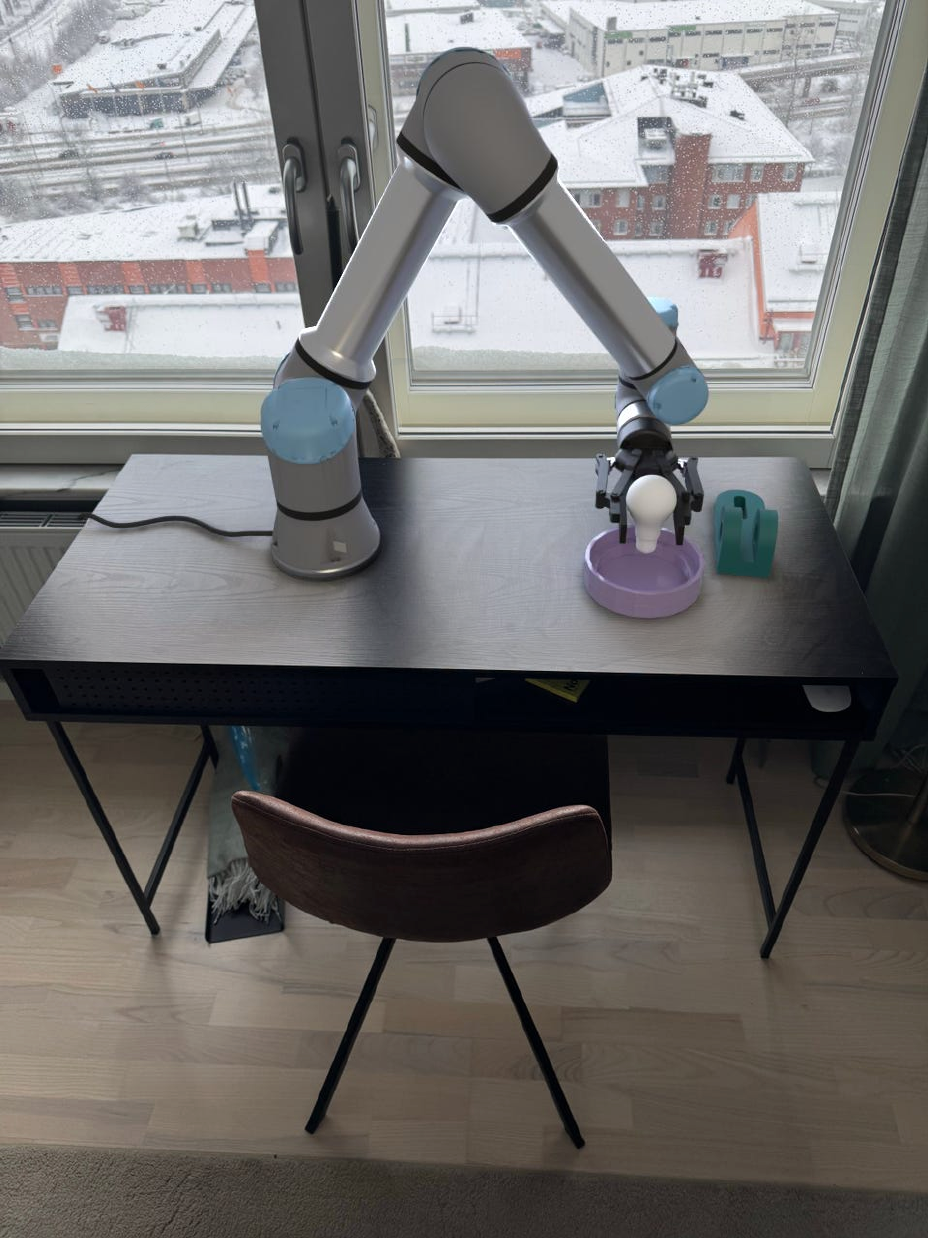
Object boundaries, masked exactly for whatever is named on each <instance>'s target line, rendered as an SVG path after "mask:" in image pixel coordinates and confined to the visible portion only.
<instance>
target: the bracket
mask: <svg viewBox="0 0 928 1238" xmlns="http://www.w3.org/2000/svg"><path fill="white" fill-rule="evenodd" d="M715 498H716V499H715V504H714V510H713V525H714V526H713V527H714V546H715V565H716V574H719V575H728V576H729V575H730V576H731V575H732V576H742V577H754V578H766V579H769V578H770V573H771V569H772V564H773V562H774V561H773V560H774V556H775V552H776V547H777V541H778V532H779V514H778V510H777V509H766V505H765V502H764V500H763V498H762V497H761V496H759V495H758V494H757V493H754V492H752V491H748V490H744V489H727V490H725V491H721V492H720V493H719V494H718V495H717V496H716V497H715Z"/></svg>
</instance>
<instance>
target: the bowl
mask: <svg viewBox="0 0 928 1238" xmlns="http://www.w3.org/2000/svg"><path fill="white" fill-rule="evenodd" d="M636 537H637V536H636V534H635V524H629V525H628V524H627V534H626V544H622V543H619V526H616V527H613V528H610V529H607V530H604V531H602V532H600V533H599V534H598V535H597V536H595V537H594V538H592V539H591V540H590V542H589V544H588V545H587V547H586V549H585V558H584V574H583V585H584V587H585V589H586V591H587V593H588V595H589V596H590V597H591V598H592V599H593V600H594V601H595V602H596V603H597V604H599V606H602V607H604V608H605V609H607V610H609V611H611V612H612V613H615V614H618V615H623V616H626V617H631V618H642V619H655V618H656V619H657V618H664V617H670V616H673V615H676V614H678V613H681V612H683V611H685V610H687V609H688V608H689V607H690V606H692V605H693V604H694V603H695V602H696V601H697V599H698V597H699V595H700V593H701V591H702V585H703V580H704V573H705V567H706V565H705V556H704V554H703V553H702V551H701V549H700V547H699V546H698V545H697V544H696V543H695V542H694V541H692V540H691V539H690V538H689V537H687V536H686V535H684V539H683V546H682V545H676V539H675V530H674V529H673V530H672V529H671V528H665V527H662V529H661V532H660V536H659V538H658V539H657V545H656V549H655V550H654V551H653V552H651V553H643V552H640V551H639V550H638V549H637V547H636Z"/></svg>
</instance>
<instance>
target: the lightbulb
mask: <svg viewBox="0 0 928 1238" xmlns="http://www.w3.org/2000/svg"><path fill="white" fill-rule="evenodd" d="M676 501H677V498H676V492H675V489H674V487H673V486H672V484H671V483H670V482H669V481H668V480H667V479H665V478H663V477H661V476H657V475H647V476H643V477H641V478H639V479H637V480H636V481H635V482H634V483H633V484H632V485H631V486H630V488H629V490H628V493H627V497H626V507H627V511H628V513H629V515H630V516H631V518H632V520H633V522H634V525H635V534H636V536H637V537H636V547H637V549H638V550H639V551H640V552H643V553H651V552H653V551H654V550H655V549H656V545H657V539H658V538H659V536H660V532H661V529H662V528H663V526H664V524H665V523H666V521H667V520H668V519H669V518H670V517H671V515H673V511H674V509H675V506H676Z"/></svg>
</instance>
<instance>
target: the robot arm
mask: <svg viewBox="0 0 928 1238" xmlns="http://www.w3.org/2000/svg"><path fill="white" fill-rule="evenodd" d="M417 82H418V83H417V88H416V92H415V93H416V94H415V100H414V103H412V106H411V109H410V110H409V113H408V114H407V117H406V119H405V120H404V123H403V124H402V126H401V128H400V131H399V133H398V135H397V137H396V139H395V141H394V146H395V149H396V153H397V157H398V164H397V166H396V168H395V170H394V172H393V174H392V175H391V178H390V179H389V182H388V184H387V186H386V187H385V190H384V192H383V194H382V195H381V198H380V199H379V201H378V204H377V205H376V207H375V209H374V211H373V213H372V215H371V218H370V219H369V220H368V223H367V226H366V228H365V229H364V231H363V233H362V235H361V236H360V237H361V238H360V239H359V240H358V242H357V245H356V247H355V249H354V251H353V253H352V256H351V257H350V259H349V261H348V263H347V264H346V267H345V269H344V271H343V273H342V275H341V277H340V279H339V281H338V282H337V285H336V287H335V288H334V291H333V292H332V295H331V297H330V298H329V301H328V302H327V304H326V306H325V308H324V310H323V312H322V314H321V316H320V318H319V320H318V321H317V324H316V326H311V327H307V328H303V329H302V330H301V331H300V333H299V335H298V337H297V338H296V340H295V342H294V345H293V346H292V348H291V349H290V350H289V351H288V352H287V353H286V354H285V355H284V356H283V358H282V359H281V360H280V362H279V364H278V365H277V367H276V370H275V372H274V378H273V382H272V390H271V391H269V392H268V393H267V394H266V396H265V398H263V401H262V403H261V407H260V432H261V436H262V438H263V441H264V445H265V450H266V455H267V460H268V461H267V462H268V467H269V471H270V476H271V483H272V487H273V493H274V497H275V503H276V511H275V512H276V513H275V519H274V524H273V529H272V530H237V531H231V530H230V531H228V530H223V529H219V528H216V527H214V526H211V525H209V524H208V523H206V522H203V521H202V520H199V519H197V518H194V517H191V516H186V515H163V516H157V517H153V518H148V519H144V520H143V519H142V520H138V521H132V522H114V521H110V520H107V519H105V518H102V517H101V516H98V515H97V514H94V513H92V512H82V513H80V514H79V515H78V516H77V517H76V518H75V521H77V522H80V521H83V520H84V519H86V518H87V519H90V520H93V521H95V522H98V523H99V524H101V525H104V526H106V527H110V528H113V529H132V528H139V527H143V526H145V527H146V526H149V525H150V526H151V525H154V524H159V523H166V522H184V523H185V522H186V523H190V524H194V525H196V526H198V527H200V528H202V529H204V530H206V531H208V532H210V533H212V534H214V535H218V536H221V537H225V538H226V537H227V538H241V537H243V538H244V537H271V542H270V548H271V554H272V558H273V561H274V564H275V565H276V566H277V568H279V569H280V571H282V572H283V573H285V574H287V575H288V576H292V577H294V578H296V579H301V580H305V581H316V582H318V581H333V580H337V579H341V578H346V577H348V576H351V575H354V574H356V573H359V572H360V571H362V570H363V569H365V568H366V567H369V565H371V564H372V563H373V562H374V561H375V560H376V558H377V557H378V555H379V553H380V551H381V547H382V543H381V541H382V540H381V533H380V528H379V526H378V523H377V522H376V521H375V519H374V518H373V517H372V515H371V512H370V510H369V508H368V505H367V504H366V502H365V500H364V497H363V492H362V482H361V474H360V465H359V457H358V445H357V443H358V442H357V411H358V409H359V407H360V405H361V402H362V401H363V399H364V398H365V396H366V394H367V392H368V390H369V389H370V387H371V384H372V383H373V382H374V379H375V378H376V376H377V370H376V366H375V364H374V360H373V358H374V356H375V355H376V352H377V351H378V349H379V347H380V346H381V343H382V342H383V340H384V338H385V337H386V335H387V333H388V331H389V330H390V327H391V326H392V323H393V322H394V320H395V318H396V316H397V315H398V313H399V311H400V309H401V307H402V306H403V304H404V302H405V301H406V298H407V296H408V295H409V293H410V291H411V289H412V287H413V286H414V284H415V282H416V281H417V279H418V277H419V275H420V273H421V272H422V270H423V267H424V266H425V264H426V262H427V260H428V259H429V257H430V255H431V254H432V252H433V250H434V248H435V246H436V245H437V243H438V240H439V239H440V237H441V235H442V233H443V231H444V230H445V228H446V226H447V225H448V223H449V221H450V220H451V217H452V216H453V214H454V212H455V210H456V208H457V206H458V204H459V203H460V202H462V201H464V200H469V199H471V200H472V201H473V202H474V203H475V205H477V207H478V208H479V209H480V210H481V211H482V213H484V215H485V216H486V217H487V218H488V220H489V221H490V222H491V223H492V224H493V226H503V227H507V228H508V229H509V231H510V232H511V233H512V235H513V236H514V237H515V238H516V240H517V241H518V242H519V243H520V244H521V245H522V247H523V248H524V249H525V250H526V252H527V253H528V254H529V256H530V257H531V258H532V259H533V260H534V262H535V263H536V264H537V266H538V267H539V268H540V269H541V271H542V272H543V273H544V274H545V276H546V277H547V278H548V280H550V282H551V283H552V284H553V286H554V287H555V288H556V289H557V290H558V292H559V293H560V294H561V295H562V297H563V298H564V299H565V301H567V303H568V304H569V305H570V306H571V308H572V309H573V310H574V312H575V313H576V314H577V315H578V316H579V317H580V319H581V320H582V322H583V323H584V324H585V326H587V328H588V329H589V330H590V331H591V333H592V334H593V335H594V337H595V338H596V339H597V340H598V341H599V343H600V344H601V345H602V346H603V347H604V349H605V350H606V351H607V353H608V354H609V355H610V356H611V357H612V359H614V362H616V364H617V365H618V366H619V367H618V376H617V386H616V389H615V393H614V401H613V402H614V409H615V416H616V453H615V455H614V456H613V457H607V456H606V455H605V454H604V453H597V454H596V455H595V469H594V471H595V474H596V476H597V482H596V489H595V500H594V502H595V503H594V504H595V505H594V507H595V508H596V509H597V510H602V509H604V508H606V509H608V516H609V522H610V523H611V524H618V527H619V543H622V544H626V534H627V525H628V512H627V511H628V508H627V503H626V497H627V493H628V490H629V488H630V486H631V485H632V484H633V483H634V482H635V481H636V480H637V479H639V478H641V477H643V476H647V475H657V476H661V477H663V478H665V479H667V480H668V481H669V482H670V483H671V484H672V486H673V487H674V489H675V492H676V498H677V501H676V506H675V509H674V511H673V513H672V520H673V531H675V539H676V545H682V546H683V539H684V536H685V532H686V531H685V530H686V526H689V527H690V525H691V522H692V515H693V513H692V511H693V512H695V513H700V512H702V510H703V505H704V500H705V499H704V498H705V491H704V488H703V485H702V481H701V479H700V475H699V471H698V464H699V457H698V456H695V455H690V456H689V457H688V459H680V458H679V456H678V455H677V454H676V453H675V451H674V445H673V437H672V430H671V425H672V426H681V425H684V424H687V423H690V422H691V421H693V420H694V419H696V418H697V417H699V415H701V414H702V412H703V411H704V409H705V408H706V406H707V404H708V401H709V397H710V389H709V386H708V382H707V381H706V379H705V378H706V377H705V375H704V374H703V372H702V371H701V369H700V368H699V367H698V366H697V365H696V363H695V362H694V359H692V357H691V356H690V354H689V353H688V351H687V349H686V348H685V346H684V345H683V343H682V342H681V340H680V338H679V337H678V333H677V332H678V327H679V326H680V325H679V308H678V306H677V305H676V304H675V303H674V302H673V301H671V300H669V299H666V298H662V297H656V296H655V297H654V296H650V297H647V296H645V295H646V294H644V292H643V291H642V290H641V288H640V287H639V286H638V284H637V283H636V281H635V280H634V279H633V277H632V276H631V275H630V273H629V272H628V271H627V269H626V268H625V266H624V265H623V264H622V262H621V261H620V260H619V259H618V257H617V255H616V254H615V253H614V251H613V250H612V249H611V247H610V246H609V245H608V243H607V241H605V240H604V237H603V236H602V235H601V234H600V232H599V231H598V230H597V229H596V227H595V226H594V224H593V222H591V220H590V219H589V217H588V216H587V215H586V213H585V212H584V211H583V209H582V208H581V206H580V205H579V204H578V202H577V201H576V199H575V198H574V197H573V195H572V194H571V193H570V192H569V190H568V189H567V188H566V186H565V185H564V183H563V182H562V181H561V179H560V178H559V173H560V165H561V164H560V162H559V161H558V159H557V157H556V155H554V153H553V152H552V151H551V149H550V147H549V146H548V145H547V143H546V141H545V140H544V138H543V136H542V135H541V132H540V131H539V129H538V127H537V125H536V123H535V122H534V119H533V118H532V115H531V113H530V111H529V108H528V106H527V103H526V102H525V99H524V97H523V95H522V93H521V91H520V89H519V88H518V86H517V85H516V83H515V82H514V79H513V78H512V76H511V74H510V71H509V70H508V68H507V67H506V66H505V64H504V63H502V62H500V60H498V59H497V57H496V56H495V55H493V54H490V53H488V52H487V51H485V50H483V49H480V48H477V47H473V46H457V47H453V48H450V49H447V50H445V51H443V52H441V53H440V54H438V55H436V57H435V58H433V59H432V60H431V61H430V62H429V64H427V66H426V68H425V69H424V70H423V72H422V74H421V75H420V77H419V79H418V81H417ZM613 468H614V469H616V470H617V471H618V472H620V473H621V475H620V476H619V477H618V480H617V481H616V483H615V485H614V487H613V488H612V490H611V492H608V491H607V489H608V483H609V482H608V481H609V476H610V475H611V472H612V471H613ZM676 470H679V472H680V474H681V477H682V478H683V479H684V485H685V486H684V485H683V484H682V483H681V481H680V480H679V478H678V477H677V476H676V474H675V473H674V472H675V471H676Z"/></svg>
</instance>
